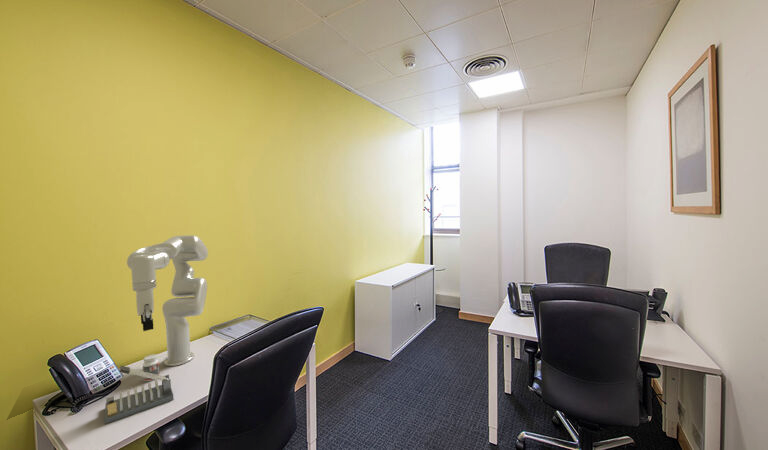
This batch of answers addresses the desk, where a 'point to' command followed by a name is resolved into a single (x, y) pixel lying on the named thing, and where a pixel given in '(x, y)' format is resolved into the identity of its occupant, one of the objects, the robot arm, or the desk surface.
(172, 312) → the robot arm
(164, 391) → the grey slotted rack
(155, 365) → the pill bottle
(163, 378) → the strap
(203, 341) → the desk surface
